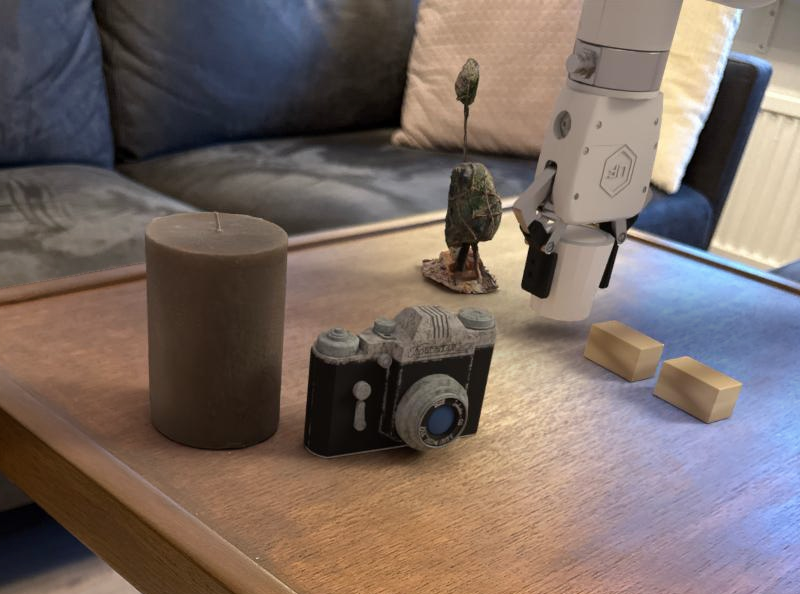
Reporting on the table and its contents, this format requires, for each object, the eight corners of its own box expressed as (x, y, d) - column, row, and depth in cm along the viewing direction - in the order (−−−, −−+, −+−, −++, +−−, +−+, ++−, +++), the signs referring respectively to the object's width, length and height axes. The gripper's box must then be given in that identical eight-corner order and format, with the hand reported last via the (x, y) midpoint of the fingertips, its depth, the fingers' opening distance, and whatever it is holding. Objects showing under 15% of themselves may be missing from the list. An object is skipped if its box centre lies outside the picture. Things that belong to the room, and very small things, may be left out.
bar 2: (730, 417, 82) (743, 383, 80) (707, 423, 80) (719, 389, 78) (676, 388, 85) (686, 355, 84) (652, 394, 84) (662, 360, 82)
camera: (334, 482, 68) (348, 343, 62) (294, 437, 73) (304, 304, 66) (510, 452, 74) (540, 322, 67) (463, 412, 78) (487, 287, 72)
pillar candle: (253, 461, 69) (262, 243, 60) (127, 433, 71) (116, 217, 62) (296, 406, 77) (310, 204, 67) (180, 381, 78) (178, 181, 69)
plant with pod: (421, 298, 98) (454, 70, 85) (419, 261, 106) (449, 49, 94) (502, 307, 98) (547, 79, 85) (493, 269, 106) (533, 58, 94)
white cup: (565, 329, 88) (584, 249, 84) (507, 304, 92) (523, 227, 88) (610, 315, 92) (630, 238, 88) (552, 291, 96) (569, 217, 92)
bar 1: (654, 376, 87) (664, 344, 85) (631, 382, 86) (640, 349, 84) (606, 351, 91) (614, 319, 89) (582, 356, 89) (591, 324, 88)
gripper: (570, 81, 73) (520, 315, 85) (722, 77, 81) (658, 291, 93) (505, 62, 78) (466, 286, 89) (655, 59, 86) (601, 265, 97)
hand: (564, 287), depth 91 cm, fingers closed on white cup, 6 cm apart
